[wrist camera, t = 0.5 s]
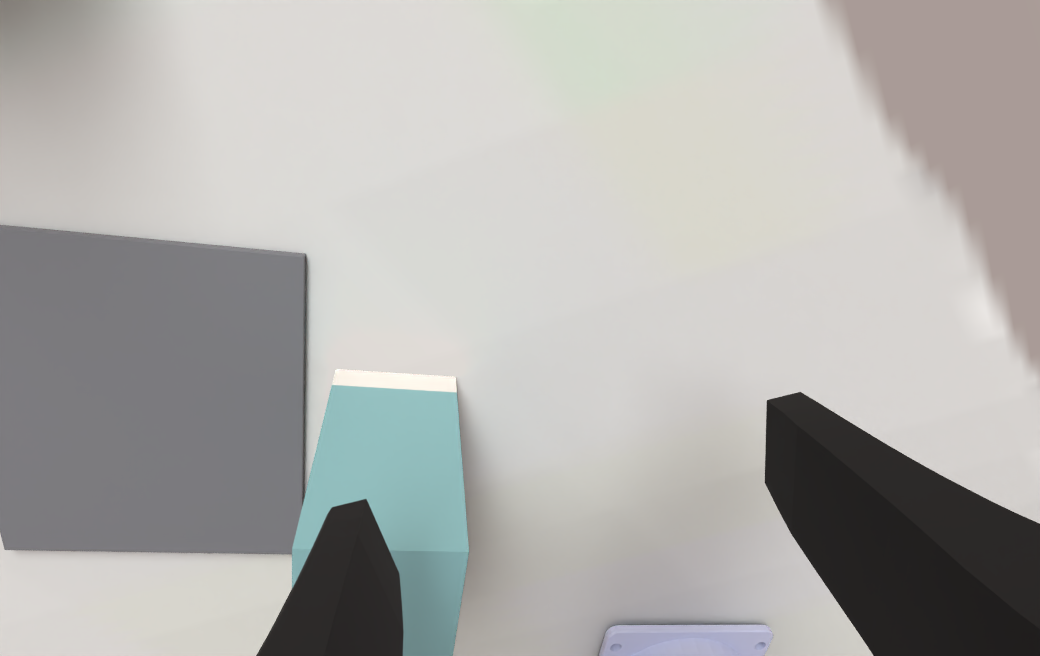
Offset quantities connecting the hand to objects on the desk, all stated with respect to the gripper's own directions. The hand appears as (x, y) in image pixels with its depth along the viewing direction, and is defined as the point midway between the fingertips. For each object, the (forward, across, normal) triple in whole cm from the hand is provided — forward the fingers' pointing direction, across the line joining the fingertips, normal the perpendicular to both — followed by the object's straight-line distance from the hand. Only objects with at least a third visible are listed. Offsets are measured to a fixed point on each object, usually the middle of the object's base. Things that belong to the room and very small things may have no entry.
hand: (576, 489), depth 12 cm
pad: (+10, +13, +3) cm, 17 cm away
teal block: (+10, +5, +5) cm, 13 cm away
